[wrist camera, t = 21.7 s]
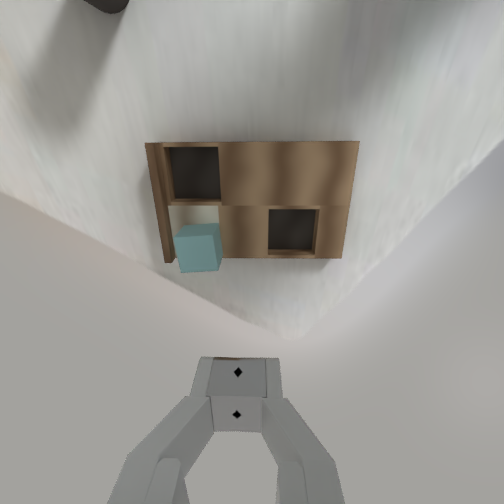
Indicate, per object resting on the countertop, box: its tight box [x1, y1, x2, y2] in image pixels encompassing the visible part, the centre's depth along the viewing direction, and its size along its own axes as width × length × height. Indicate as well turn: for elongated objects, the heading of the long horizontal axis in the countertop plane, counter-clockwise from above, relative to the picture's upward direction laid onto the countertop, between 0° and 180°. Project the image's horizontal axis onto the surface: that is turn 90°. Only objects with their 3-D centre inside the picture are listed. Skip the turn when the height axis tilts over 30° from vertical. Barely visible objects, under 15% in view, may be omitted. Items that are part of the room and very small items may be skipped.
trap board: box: [145, 141, 360, 263], centre depth 34 cm, size 26×16×4 cm, turn 90°
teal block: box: [173, 223, 223, 273], centre depth 34 cm, size 5×5×5 cm
